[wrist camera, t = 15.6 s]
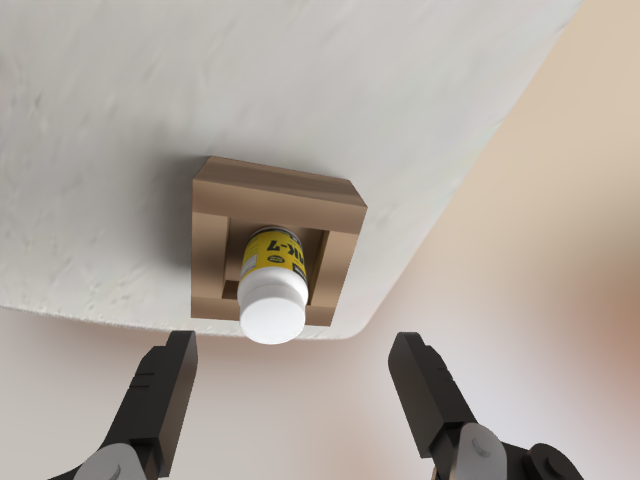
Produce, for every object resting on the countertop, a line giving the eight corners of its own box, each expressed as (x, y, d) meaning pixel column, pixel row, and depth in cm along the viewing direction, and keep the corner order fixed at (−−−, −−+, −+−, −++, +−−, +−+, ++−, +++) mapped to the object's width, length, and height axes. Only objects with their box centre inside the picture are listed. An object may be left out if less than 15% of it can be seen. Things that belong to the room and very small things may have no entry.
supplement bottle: (313, 243, 25) (328, 314, 18) (280, 279, 27) (283, 358, 19) (265, 213, 23) (261, 280, 16) (234, 254, 25) (217, 332, 17)
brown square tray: (211, 154, 24) (192, 179, 19) (348, 179, 27) (367, 207, 21) (206, 271, 30) (190, 317, 24) (320, 282, 32) (329, 326, 27)
